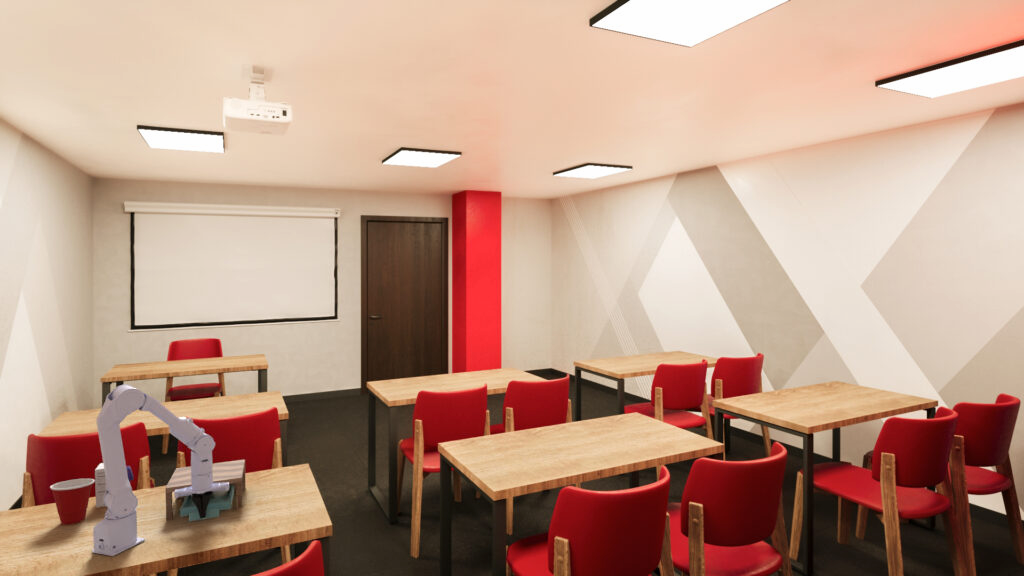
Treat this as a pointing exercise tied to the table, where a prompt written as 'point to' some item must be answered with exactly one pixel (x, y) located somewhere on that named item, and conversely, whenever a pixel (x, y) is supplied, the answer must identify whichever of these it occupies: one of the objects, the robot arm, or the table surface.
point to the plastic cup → (72, 499)
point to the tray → (209, 504)
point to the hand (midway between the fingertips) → (203, 516)
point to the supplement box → (100, 485)
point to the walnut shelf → (221, 474)
